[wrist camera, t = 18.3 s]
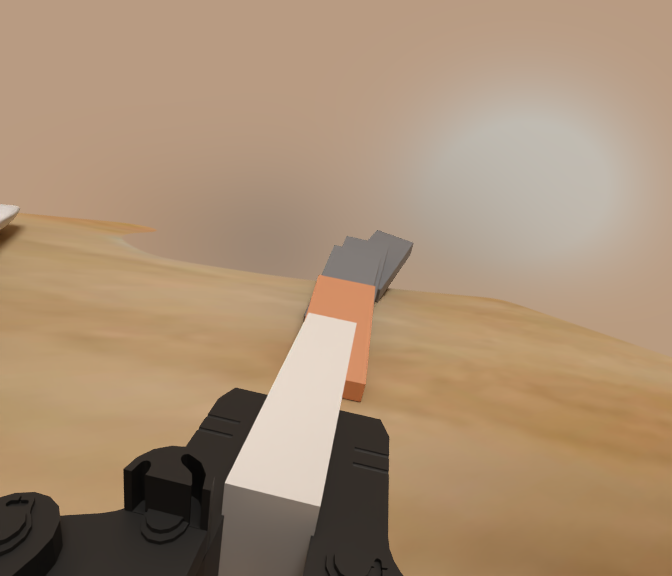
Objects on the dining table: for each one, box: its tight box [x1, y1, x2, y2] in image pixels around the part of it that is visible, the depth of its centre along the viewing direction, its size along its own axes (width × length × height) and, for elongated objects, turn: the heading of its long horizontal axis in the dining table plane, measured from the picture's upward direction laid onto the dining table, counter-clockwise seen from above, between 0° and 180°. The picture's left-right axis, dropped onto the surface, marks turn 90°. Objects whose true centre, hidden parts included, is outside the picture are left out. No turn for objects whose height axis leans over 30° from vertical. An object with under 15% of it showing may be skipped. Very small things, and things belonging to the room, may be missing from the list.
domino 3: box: [342, 236, 389, 302], centre depth 43 cm, size 5×2×11 cm
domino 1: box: [303, 245, 381, 323], centre depth 38 cm, size 5×2×11 cm
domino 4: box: [368, 230, 413, 302], centre depth 48 cm, size 5×2×11 cm
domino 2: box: [304, 275, 375, 402], centre depth 31 cm, size 5×2×11 cm
